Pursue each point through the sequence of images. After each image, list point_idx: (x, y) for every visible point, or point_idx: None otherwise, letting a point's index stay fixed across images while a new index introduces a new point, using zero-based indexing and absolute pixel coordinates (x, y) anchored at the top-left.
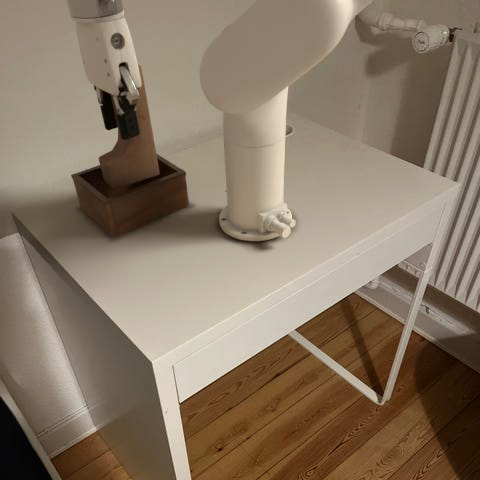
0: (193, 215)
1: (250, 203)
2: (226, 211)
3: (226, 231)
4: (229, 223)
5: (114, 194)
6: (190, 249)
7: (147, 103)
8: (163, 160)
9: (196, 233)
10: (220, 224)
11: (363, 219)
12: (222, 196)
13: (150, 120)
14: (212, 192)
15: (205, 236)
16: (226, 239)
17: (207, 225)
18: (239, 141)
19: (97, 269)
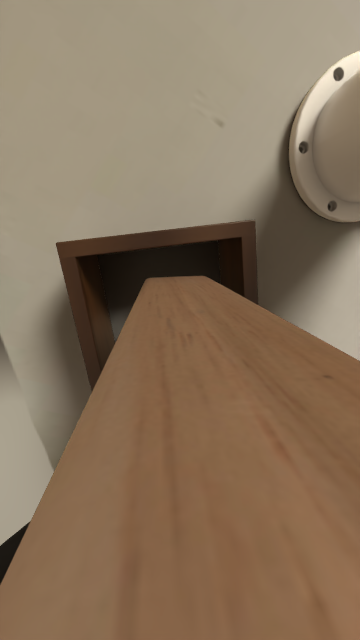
0: (258, 240)
1: None
2: (314, 184)
3: (355, 221)
4: (349, 204)
5: (113, 342)
6: (337, 295)
7: (306, 332)
8: (158, 240)
9: (309, 265)
10: (332, 219)
11: None
12: (234, 145)
13: (260, 306)
14: (206, 155)
15: (326, 256)
16: (357, 230)
17: (302, 235)
18: None
19: None
